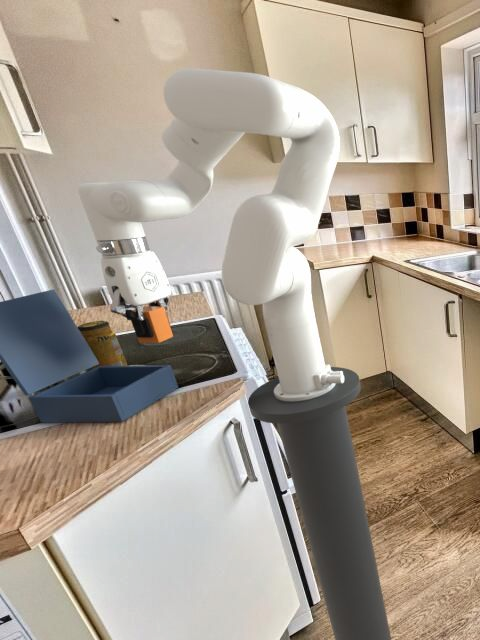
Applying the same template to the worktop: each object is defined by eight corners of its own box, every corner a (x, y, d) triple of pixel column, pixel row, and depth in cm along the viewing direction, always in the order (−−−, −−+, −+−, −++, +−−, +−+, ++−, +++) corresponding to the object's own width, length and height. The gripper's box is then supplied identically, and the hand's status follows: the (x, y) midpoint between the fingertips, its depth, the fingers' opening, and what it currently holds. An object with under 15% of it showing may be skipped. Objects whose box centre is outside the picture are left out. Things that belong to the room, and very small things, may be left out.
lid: (54, 289, 83) (33, 293, 83) (-31, 309, 70) (-55, 314, 70) (99, 363, 88) (80, 367, 89) (28, 394, 76) (6, 399, 76)
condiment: (112, 366, 102) (93, 319, 98) (145, 365, 102) (127, 318, 97) (82, 379, 95) (60, 329, 91) (118, 379, 95) (97, 329, 90)
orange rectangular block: (173, 336, 94) (163, 306, 91) (159, 343, 90) (148, 311, 87) (154, 336, 94) (144, 306, 91) (138, 343, 90) (127, 311, 87)
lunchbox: (178, 387, 90) (170, 364, 88) (122, 421, 77) (111, 396, 75) (108, 388, 91) (98, 366, 89) (40, 422, 78) (28, 397, 76)
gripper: (104, 254, 77) (138, 347, 83) (175, 241, 92) (199, 320, 99) (64, 255, 77) (102, 347, 84) (142, 242, 92) (168, 321, 99)
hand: (154, 332), depth 91 cm, fingers closed on orange rectangular block, 4 cm apart
